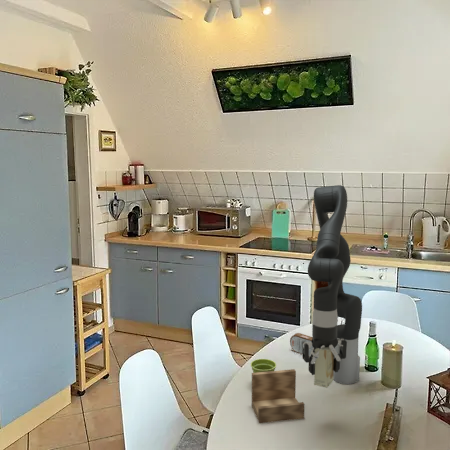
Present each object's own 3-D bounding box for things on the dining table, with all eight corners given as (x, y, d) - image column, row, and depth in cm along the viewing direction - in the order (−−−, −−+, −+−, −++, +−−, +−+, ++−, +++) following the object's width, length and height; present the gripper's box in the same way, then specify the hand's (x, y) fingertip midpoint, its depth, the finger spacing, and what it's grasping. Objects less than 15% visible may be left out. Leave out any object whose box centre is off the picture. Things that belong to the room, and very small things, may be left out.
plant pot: (274, 393, 166) (275, 370, 165) (248, 391, 168) (248, 368, 167) (277, 381, 175) (277, 359, 174) (252, 379, 177) (252, 357, 176)
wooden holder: (293, 401, 160) (294, 369, 159) (304, 418, 150) (304, 383, 148) (251, 406, 158) (251, 372, 156) (259, 423, 148) (259, 387, 146)
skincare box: (327, 388, 141) (327, 350, 140) (313, 385, 144) (314, 348, 142) (334, 380, 147) (334, 343, 145) (320, 376, 149) (321, 340, 147)
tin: (322, 358, 195) (323, 339, 194) (318, 360, 193) (319, 341, 192) (292, 348, 205) (293, 330, 204) (288, 350, 203) (289, 332, 202)
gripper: (341, 316, 147) (340, 365, 150) (298, 319, 145) (298, 369, 147) (352, 324, 140) (350, 375, 142) (307, 328, 137) (306, 380, 140)
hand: (324, 372), depth 145 cm, fingers closed on skincare box, 7 cm apart
